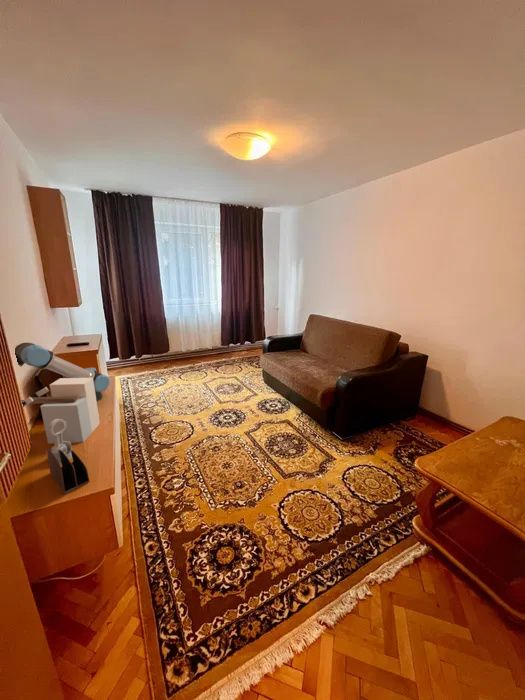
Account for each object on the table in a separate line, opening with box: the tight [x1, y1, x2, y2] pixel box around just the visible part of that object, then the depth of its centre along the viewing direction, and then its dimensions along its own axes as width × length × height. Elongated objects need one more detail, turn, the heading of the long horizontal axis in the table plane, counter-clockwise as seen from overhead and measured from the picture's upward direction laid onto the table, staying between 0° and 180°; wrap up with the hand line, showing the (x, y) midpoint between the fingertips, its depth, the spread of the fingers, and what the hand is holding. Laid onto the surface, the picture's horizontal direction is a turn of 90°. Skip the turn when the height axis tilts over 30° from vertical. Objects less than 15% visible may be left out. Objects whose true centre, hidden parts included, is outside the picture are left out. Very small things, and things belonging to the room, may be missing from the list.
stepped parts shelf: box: [39, 377, 101, 445], centre depth 159 cm, size 20×18×30 cm
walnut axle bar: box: [28, 396, 77, 405], centre depth 152 cm, size 3×24×2 cm, turn 96°
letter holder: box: [46, 448, 91, 495], centre depth 126 cm, size 10×20×14 cm, turn 49°
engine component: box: [45, 419, 73, 465], centre depth 139 cm, size 11×20×10 cm
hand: (39, 393), depth 150 cm, fingers open, 12 cm apart
